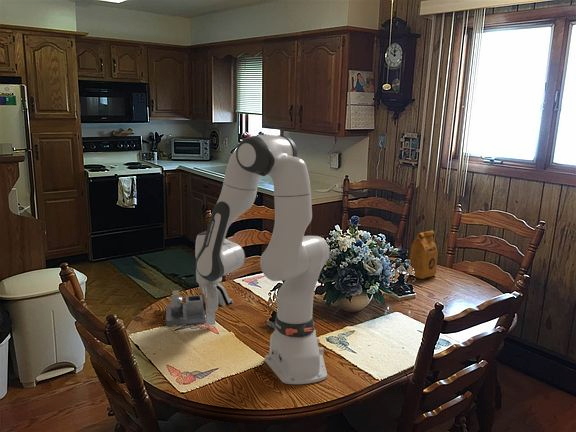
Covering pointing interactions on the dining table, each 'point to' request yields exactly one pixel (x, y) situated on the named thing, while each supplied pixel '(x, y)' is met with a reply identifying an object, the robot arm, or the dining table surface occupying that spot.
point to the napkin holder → (221, 295)
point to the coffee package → (424, 255)
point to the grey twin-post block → (185, 310)
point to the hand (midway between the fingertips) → (210, 312)
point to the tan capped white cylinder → (208, 319)
